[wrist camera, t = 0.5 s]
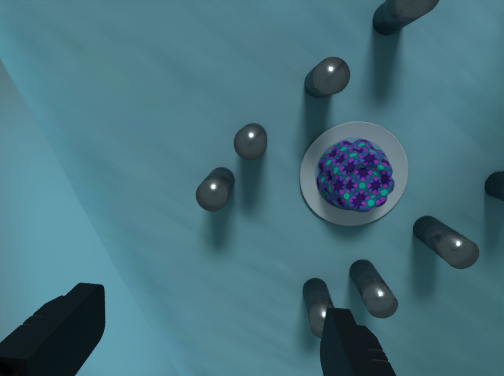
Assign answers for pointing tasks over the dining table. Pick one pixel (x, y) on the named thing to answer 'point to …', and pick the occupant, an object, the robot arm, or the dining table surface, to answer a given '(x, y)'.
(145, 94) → the dining table surface
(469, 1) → the dining table surface
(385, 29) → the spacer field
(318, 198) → the pudding
